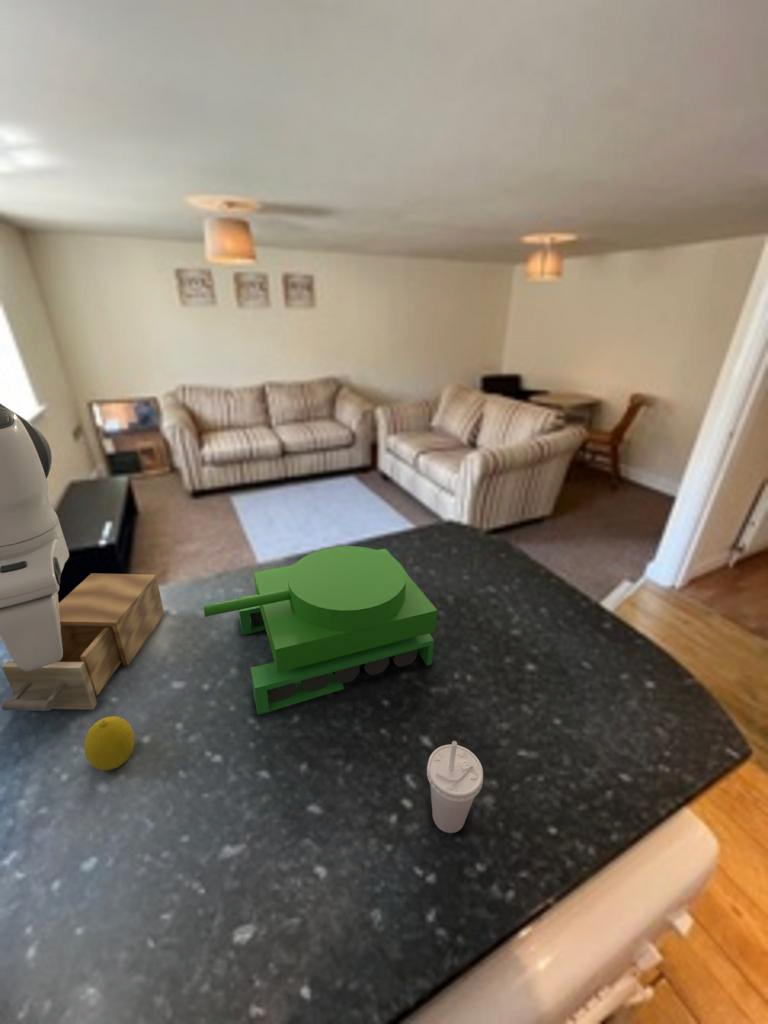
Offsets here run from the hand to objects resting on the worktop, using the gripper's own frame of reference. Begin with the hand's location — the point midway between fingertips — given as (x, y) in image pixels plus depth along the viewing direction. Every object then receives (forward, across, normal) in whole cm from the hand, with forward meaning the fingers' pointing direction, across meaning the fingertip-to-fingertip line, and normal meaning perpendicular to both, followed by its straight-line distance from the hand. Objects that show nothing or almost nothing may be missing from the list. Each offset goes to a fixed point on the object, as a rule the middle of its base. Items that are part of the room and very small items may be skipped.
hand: (53, 649), depth 56 cm
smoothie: (+18, +36, +35) cm, 53 cm away
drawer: (+16, -12, -1) cm, 20 cm away
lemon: (+18, +5, +3) cm, 19 cm away
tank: (+18, 0, +36) cm, 40 cm away
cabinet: (+17, -22, +6) cm, 29 cm away
